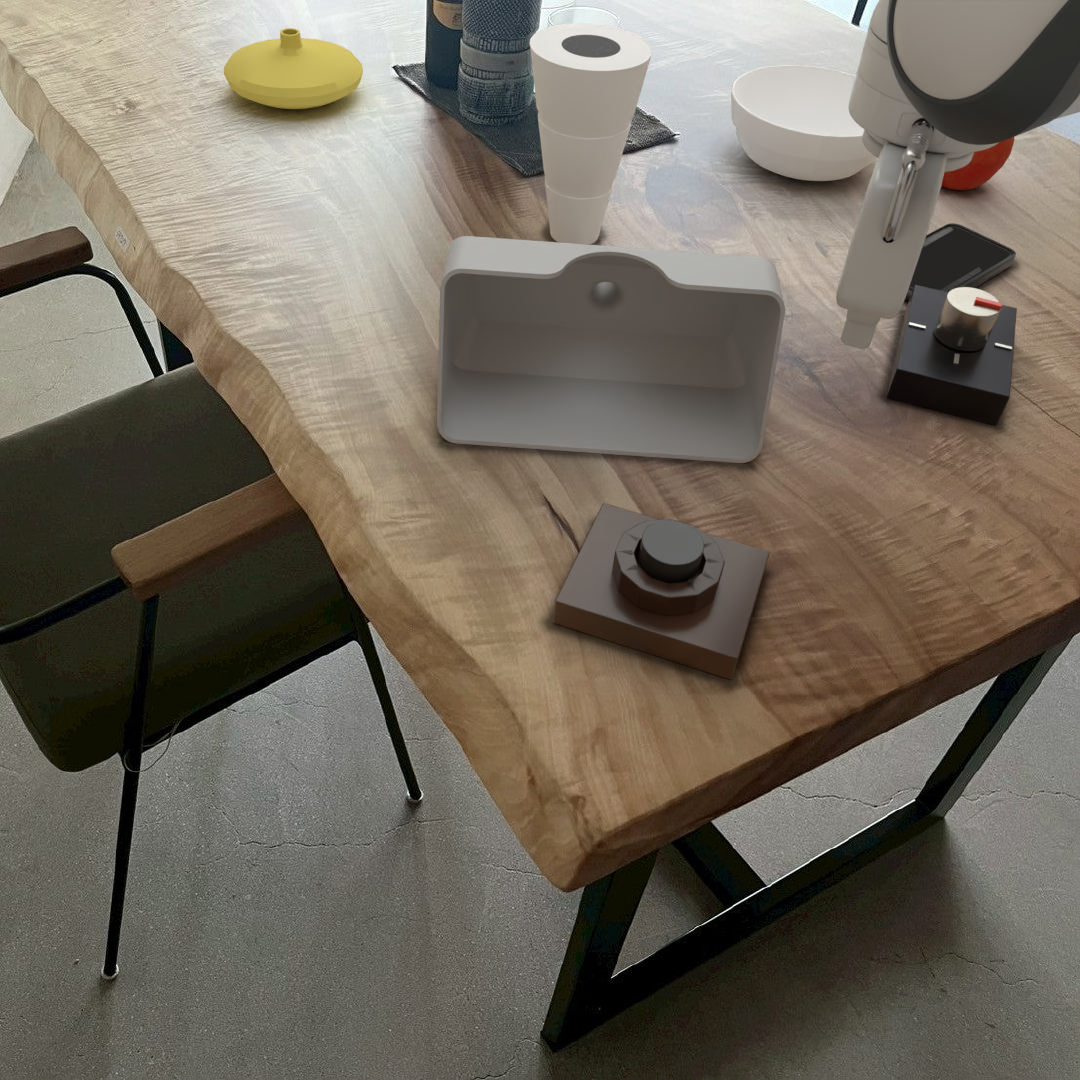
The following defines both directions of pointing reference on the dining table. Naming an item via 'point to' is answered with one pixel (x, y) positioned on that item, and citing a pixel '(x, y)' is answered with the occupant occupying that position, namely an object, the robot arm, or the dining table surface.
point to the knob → (967, 319)
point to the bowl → (799, 122)
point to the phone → (958, 259)
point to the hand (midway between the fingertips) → (866, 303)
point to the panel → (952, 363)
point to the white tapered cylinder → (584, 118)
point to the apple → (979, 167)
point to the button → (671, 551)
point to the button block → (662, 595)
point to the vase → (293, 71)
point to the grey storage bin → (607, 349)
